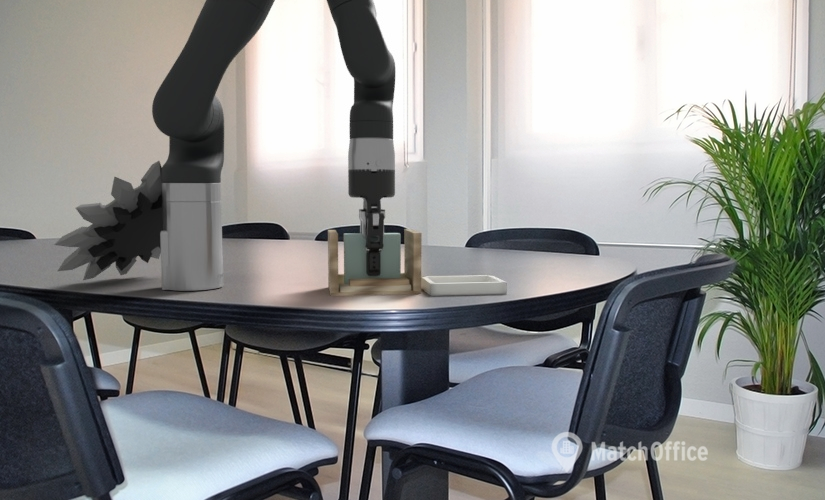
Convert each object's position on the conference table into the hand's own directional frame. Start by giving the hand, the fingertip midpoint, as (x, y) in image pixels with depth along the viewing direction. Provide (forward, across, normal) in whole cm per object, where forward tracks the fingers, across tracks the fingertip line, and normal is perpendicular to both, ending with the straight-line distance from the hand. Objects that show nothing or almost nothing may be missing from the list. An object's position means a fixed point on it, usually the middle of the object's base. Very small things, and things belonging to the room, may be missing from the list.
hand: (372, 273), depth 110 cm
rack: (+3, +2, 0) cm, 3 cm away
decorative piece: (0, -27, -39) cm, 47 cm away
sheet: (+2, 0, 0) cm, 2 cm away
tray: (+3, +5, +14) cm, 15 cm away
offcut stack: (+3, +5, 0) cm, 5 cm away
